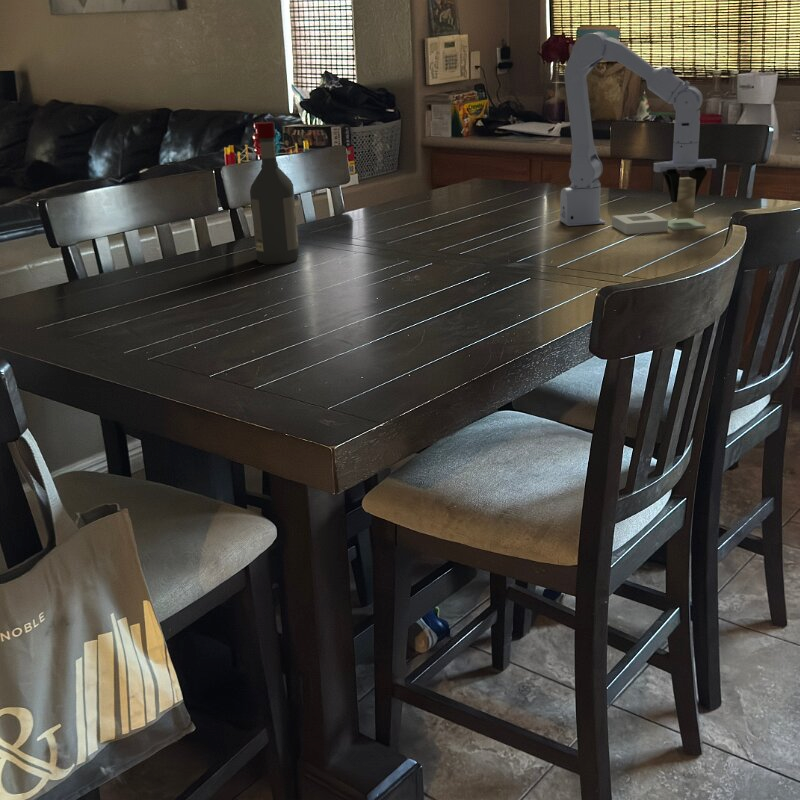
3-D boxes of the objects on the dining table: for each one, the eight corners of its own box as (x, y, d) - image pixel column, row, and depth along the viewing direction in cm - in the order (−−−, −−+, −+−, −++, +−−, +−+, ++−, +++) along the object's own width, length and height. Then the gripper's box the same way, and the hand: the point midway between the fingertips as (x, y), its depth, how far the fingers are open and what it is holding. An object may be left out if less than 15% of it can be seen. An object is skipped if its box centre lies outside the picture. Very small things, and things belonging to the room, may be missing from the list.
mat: (672, 230, 232) (673, 228, 231) (658, 223, 240) (658, 220, 240) (705, 227, 232) (705, 225, 232) (690, 220, 241) (690, 218, 241)
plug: (677, 219, 233) (679, 180, 230) (670, 216, 237) (672, 178, 234) (693, 218, 234) (696, 179, 230) (687, 214, 237) (689, 177, 234)
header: (626, 234, 230) (626, 223, 229) (611, 226, 239) (612, 215, 238) (667, 231, 231) (668, 220, 230) (651, 223, 240) (652, 212, 239)
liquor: (299, 253, 228) (288, 119, 217) (297, 262, 220) (285, 123, 209) (260, 256, 228) (246, 121, 217) (256, 265, 220) (241, 126, 209)
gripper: (662, 146, 225) (659, 206, 230) (723, 141, 226) (719, 201, 231) (651, 142, 231) (648, 200, 236) (710, 138, 233) (706, 196, 238)
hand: (682, 200), depth 234 cm, fingers closed on plug, 4 cm apart
